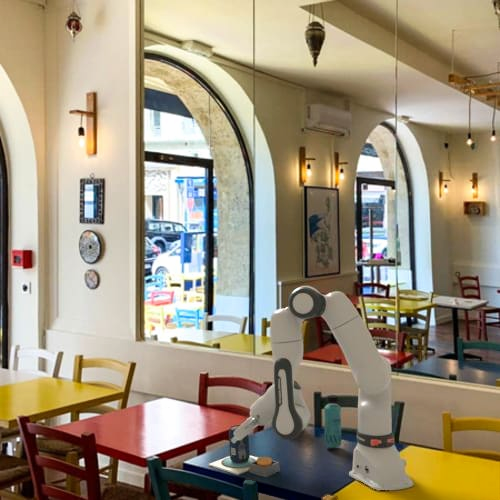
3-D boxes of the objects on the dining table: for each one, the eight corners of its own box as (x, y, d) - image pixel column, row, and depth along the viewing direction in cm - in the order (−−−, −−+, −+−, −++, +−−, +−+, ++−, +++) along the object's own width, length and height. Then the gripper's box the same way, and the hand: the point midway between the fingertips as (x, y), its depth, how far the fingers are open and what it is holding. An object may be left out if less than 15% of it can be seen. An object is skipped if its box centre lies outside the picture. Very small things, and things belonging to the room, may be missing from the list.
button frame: (280, 470, 214) (280, 462, 214) (265, 477, 209) (265, 468, 209) (263, 466, 220) (263, 457, 220) (248, 472, 214) (248, 463, 214)
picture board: (268, 462, 223) (268, 460, 223) (237, 474, 212) (237, 472, 212) (239, 453, 233) (239, 451, 233) (208, 465, 221) (208, 463, 221)
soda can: (239, 456, 228) (237, 423, 227) (253, 459, 223) (252, 426, 223) (226, 462, 222) (224, 428, 222) (241, 466, 218) (239, 431, 217)
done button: (274, 464, 214) (274, 458, 214) (265, 468, 211) (265, 462, 211) (263, 461, 218) (263, 455, 218) (254, 465, 214) (253, 459, 214)
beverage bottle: (320, 449, 237) (320, 396, 237) (331, 444, 242) (330, 392, 241) (335, 452, 232) (334, 398, 232) (345, 448, 237) (344, 395, 237)
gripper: (259, 427, 209) (232, 454, 212) (276, 412, 228) (251, 436, 231) (246, 413, 210) (219, 440, 213) (265, 398, 229) (240, 423, 233)
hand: (236, 438), depth 222 cm, fingers closed on soda can, 6 cm apart
